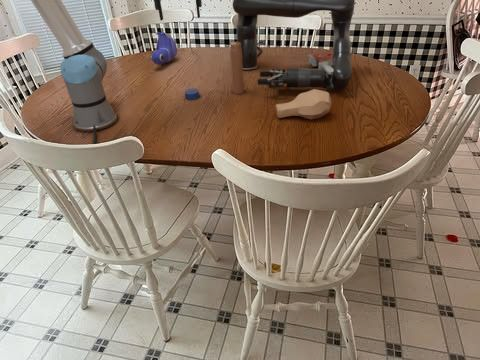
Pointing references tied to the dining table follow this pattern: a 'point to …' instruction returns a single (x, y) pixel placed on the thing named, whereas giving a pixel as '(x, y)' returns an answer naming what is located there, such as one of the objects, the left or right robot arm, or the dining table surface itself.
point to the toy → (164, 49)
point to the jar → (236, 67)
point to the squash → (306, 105)
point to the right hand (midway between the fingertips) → (259, 77)
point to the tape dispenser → (322, 61)
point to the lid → (191, 94)
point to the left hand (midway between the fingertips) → (180, 18)
